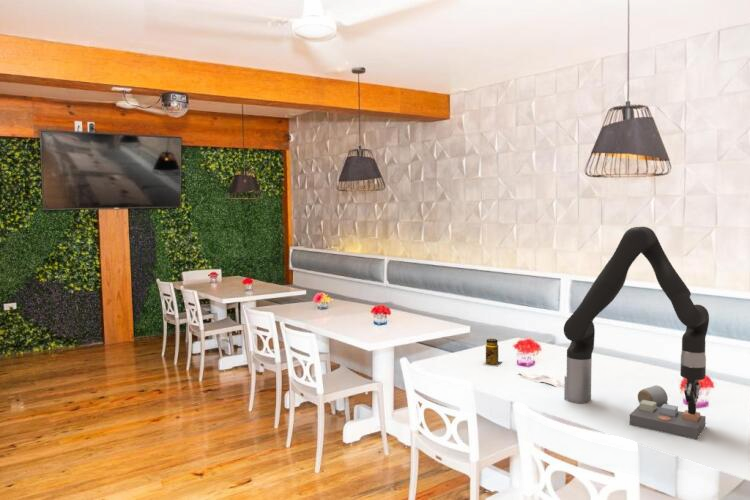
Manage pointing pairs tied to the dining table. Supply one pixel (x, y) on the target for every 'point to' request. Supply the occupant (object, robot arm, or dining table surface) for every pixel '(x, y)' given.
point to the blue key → (669, 410)
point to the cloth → (543, 379)
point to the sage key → (647, 406)
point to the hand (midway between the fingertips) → (691, 413)
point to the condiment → (492, 353)
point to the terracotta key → (691, 416)
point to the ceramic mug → (653, 395)
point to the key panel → (667, 423)
